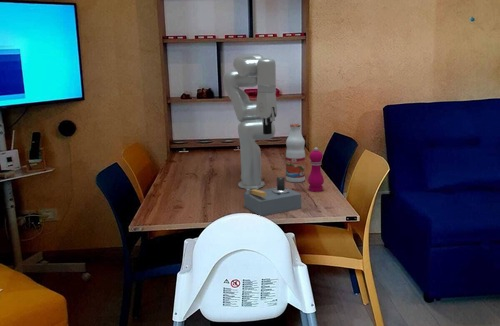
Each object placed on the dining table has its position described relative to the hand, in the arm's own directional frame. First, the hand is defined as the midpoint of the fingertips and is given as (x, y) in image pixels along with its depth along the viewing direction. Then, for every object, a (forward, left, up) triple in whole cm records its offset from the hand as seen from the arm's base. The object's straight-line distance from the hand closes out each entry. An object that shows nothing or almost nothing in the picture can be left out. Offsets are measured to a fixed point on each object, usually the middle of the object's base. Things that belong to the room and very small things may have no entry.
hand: (267, 133), depth 203 cm
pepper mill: (-2, +26, -29) cm, 39 cm away
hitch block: (+10, -4, -29) cm, 31 cm away
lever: (+10, -11, -22) cm, 27 cm away
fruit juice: (-21, +27, -29) cm, 45 cm away
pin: (+9, +1, -29) cm, 31 cm away
